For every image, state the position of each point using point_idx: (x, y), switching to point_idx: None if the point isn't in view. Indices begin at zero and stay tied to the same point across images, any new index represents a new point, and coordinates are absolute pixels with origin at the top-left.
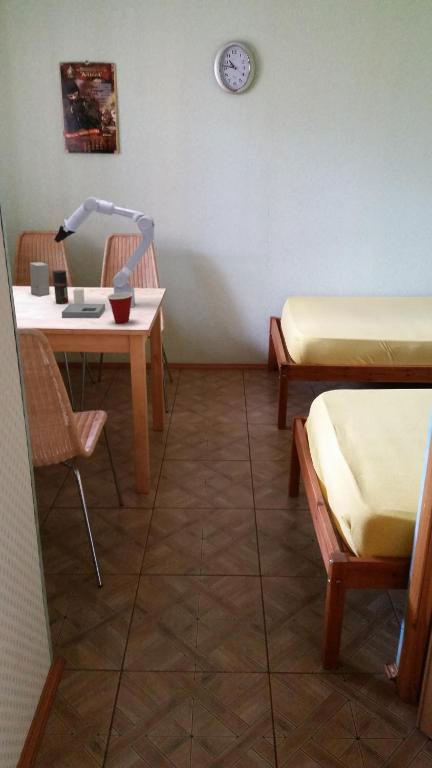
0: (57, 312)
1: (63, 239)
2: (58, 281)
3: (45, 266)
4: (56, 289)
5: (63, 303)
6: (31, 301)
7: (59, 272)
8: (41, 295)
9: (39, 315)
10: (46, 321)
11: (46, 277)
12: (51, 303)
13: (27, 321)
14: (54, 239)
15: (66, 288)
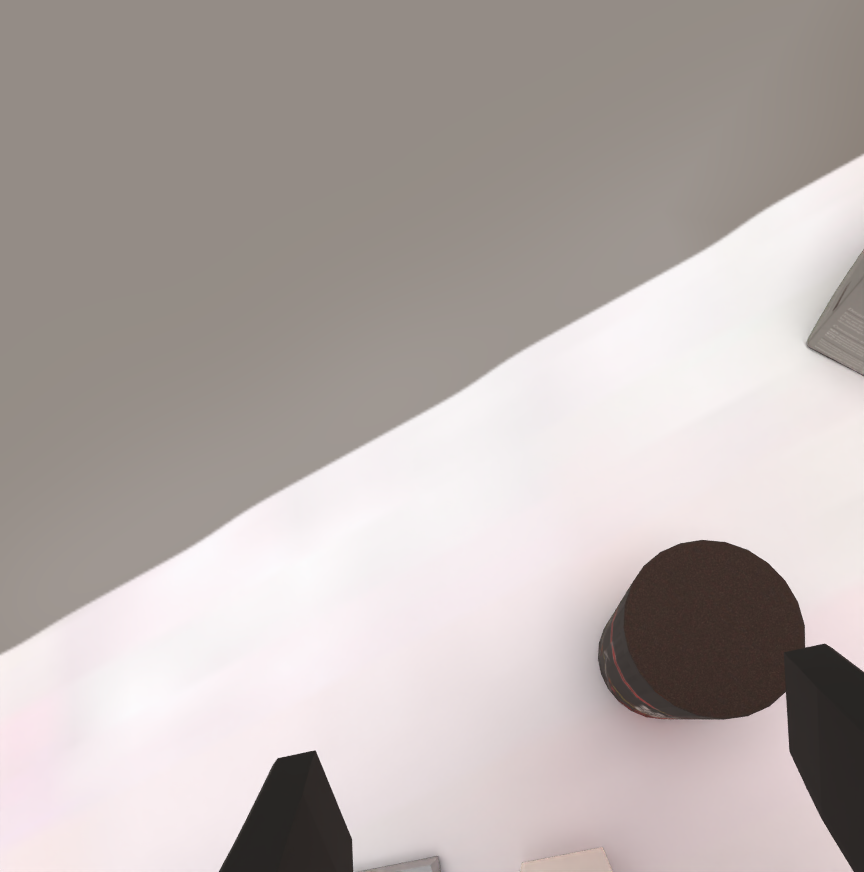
0: None
1: (827, 818)
2: (617, 651)
3: None
4: (609, 625)
5: (613, 694)
6: (621, 379)
7: (644, 661)
8: (831, 357)
9: (193, 676)
10: (20, 827)
11: None
12: (600, 575)
13: (18, 672)
14: (268, 774)
15: (681, 718)
